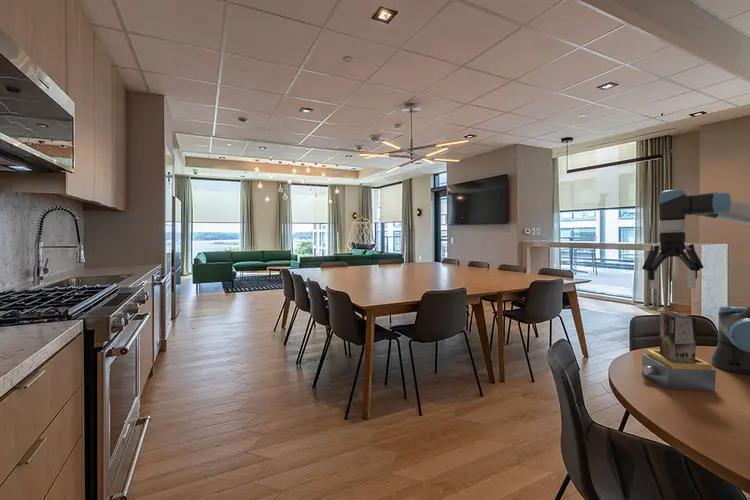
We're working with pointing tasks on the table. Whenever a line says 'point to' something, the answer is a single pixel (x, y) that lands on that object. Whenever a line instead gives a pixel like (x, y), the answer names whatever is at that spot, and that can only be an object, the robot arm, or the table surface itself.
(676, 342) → the coffee box
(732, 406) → the table surface
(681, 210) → the robot arm
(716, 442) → the table surface
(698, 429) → the table surface
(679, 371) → the grey yellow box
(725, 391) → the table surface
